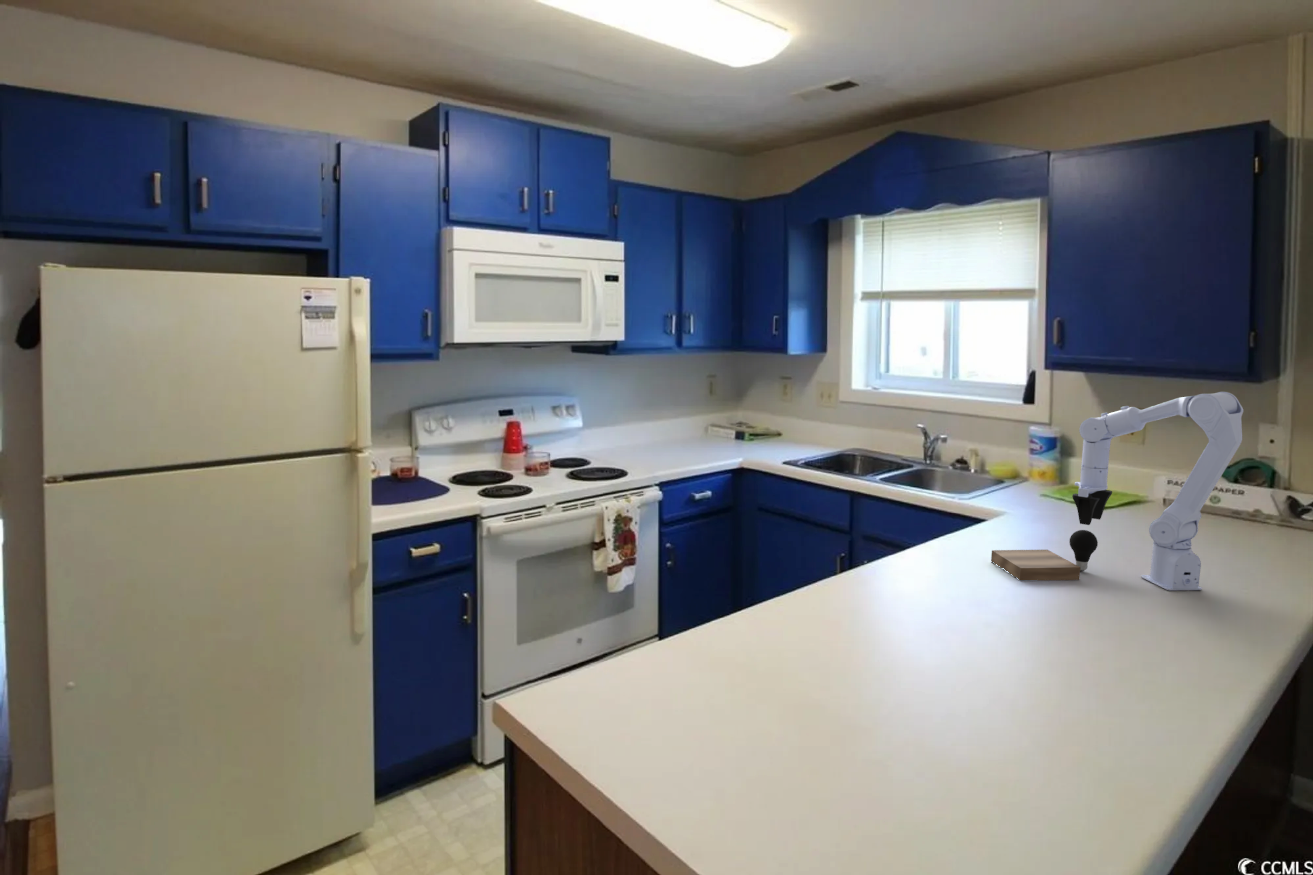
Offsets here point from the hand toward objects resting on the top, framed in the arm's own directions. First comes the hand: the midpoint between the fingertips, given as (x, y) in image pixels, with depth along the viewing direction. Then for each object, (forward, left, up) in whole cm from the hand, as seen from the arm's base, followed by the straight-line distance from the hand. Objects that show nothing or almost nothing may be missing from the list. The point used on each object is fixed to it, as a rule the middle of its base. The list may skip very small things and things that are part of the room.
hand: (1090, 521), depth 194 cm
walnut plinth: (-6, +17, -10) cm, 21 cm away
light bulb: (-7, +6, -10) cm, 14 cm away
